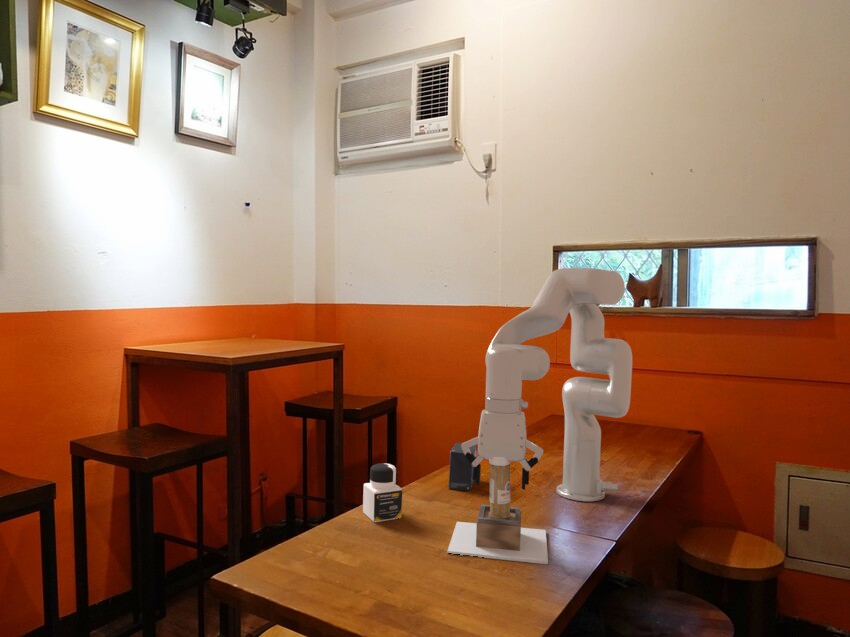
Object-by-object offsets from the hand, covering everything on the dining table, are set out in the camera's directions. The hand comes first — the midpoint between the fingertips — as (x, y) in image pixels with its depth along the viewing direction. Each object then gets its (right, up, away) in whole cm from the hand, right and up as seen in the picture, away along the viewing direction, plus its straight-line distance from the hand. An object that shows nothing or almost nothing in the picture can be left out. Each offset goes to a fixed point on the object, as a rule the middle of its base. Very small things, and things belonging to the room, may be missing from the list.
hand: (500, 485), depth 124 cm
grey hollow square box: (0, -12, 0) cm, 12 cm away
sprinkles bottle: (0, -7, 0) cm, 7 cm away
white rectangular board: (0, -12, 0) cm, 12 cm away
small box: (-6, -11, +39) cm, 41 cm away
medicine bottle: (-26, -11, +14) cm, 32 cm away
